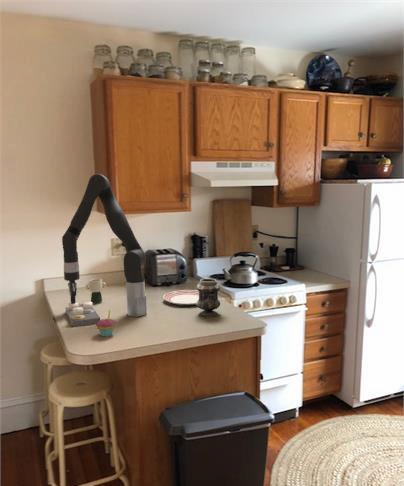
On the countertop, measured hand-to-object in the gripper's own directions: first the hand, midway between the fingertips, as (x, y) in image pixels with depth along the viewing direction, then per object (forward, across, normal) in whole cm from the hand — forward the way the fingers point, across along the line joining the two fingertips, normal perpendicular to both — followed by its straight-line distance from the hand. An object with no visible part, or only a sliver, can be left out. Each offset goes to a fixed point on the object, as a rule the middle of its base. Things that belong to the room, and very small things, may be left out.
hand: (73, 303), depth 218 cm
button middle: (+1, -8, -6) cm, 10 cm away
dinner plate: (+6, -4, -62) cm, 63 cm away
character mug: (+6, +17, -15) cm, 23 cm away
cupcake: (+6, -39, -9) cm, 41 cm away
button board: (+6, -8, -3) cm, 10 cm away
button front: (+1, -16, 0) cm, 16 cm away
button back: (+3, 0, 0) cm, 3 cm away
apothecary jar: (+6, -32, -62) cm, 70 cm away
